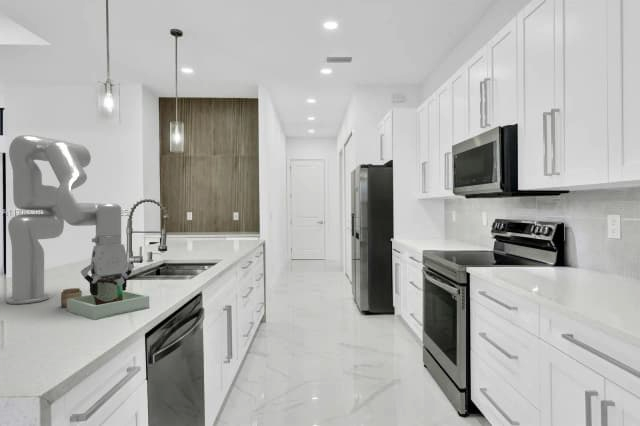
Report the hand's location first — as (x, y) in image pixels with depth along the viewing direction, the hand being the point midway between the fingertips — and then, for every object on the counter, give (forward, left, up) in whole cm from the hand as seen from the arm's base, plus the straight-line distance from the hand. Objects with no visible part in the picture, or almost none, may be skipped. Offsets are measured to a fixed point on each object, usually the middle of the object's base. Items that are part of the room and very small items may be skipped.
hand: (108, 292), depth 133 cm
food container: (-1, +2, -5) cm, 5 cm away
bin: (0, 0, -6) cm, 6 cm away
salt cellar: (-15, -5, -6) cm, 17 cm away
